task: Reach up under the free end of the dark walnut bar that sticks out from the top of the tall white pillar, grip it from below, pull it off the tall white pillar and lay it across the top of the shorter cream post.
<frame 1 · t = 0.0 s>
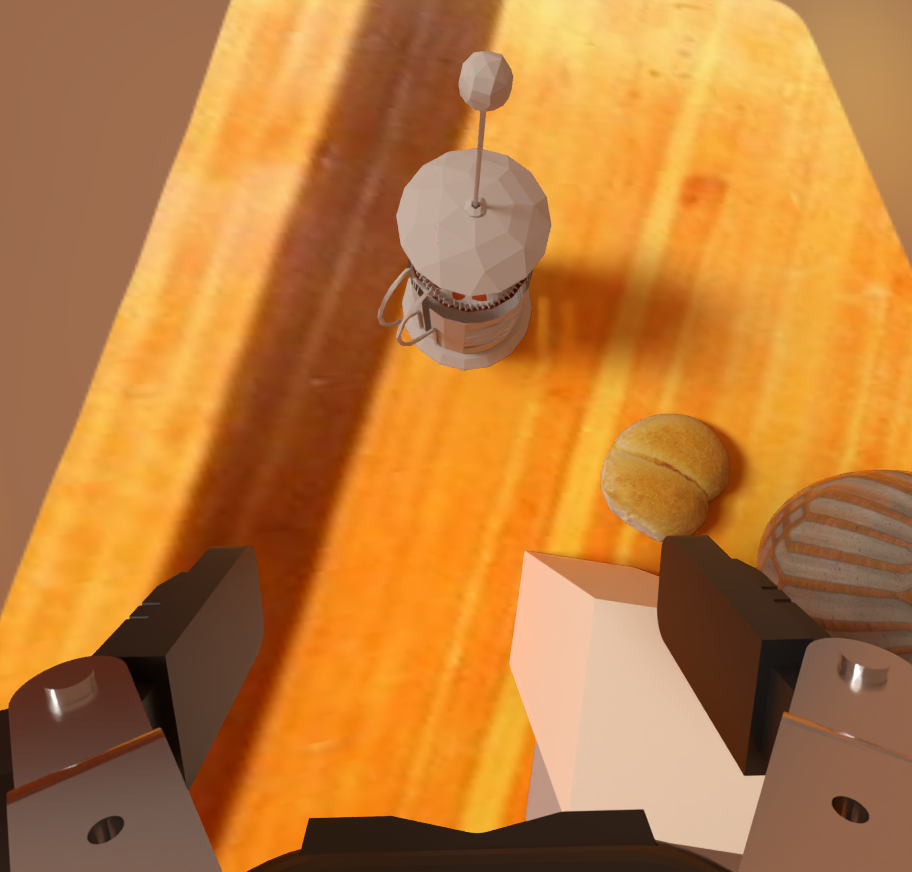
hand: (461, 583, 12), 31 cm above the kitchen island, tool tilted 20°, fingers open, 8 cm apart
bread roll: (658, 477, 44), on the kitchen island
tall white pillar: (640, 836, 41), on the kitchen island
vase: (812, 565, 43), on the kitchen island
post: (572, 615, 42), on the kitchen island
french press: (458, 314, 45), on the kitchen island
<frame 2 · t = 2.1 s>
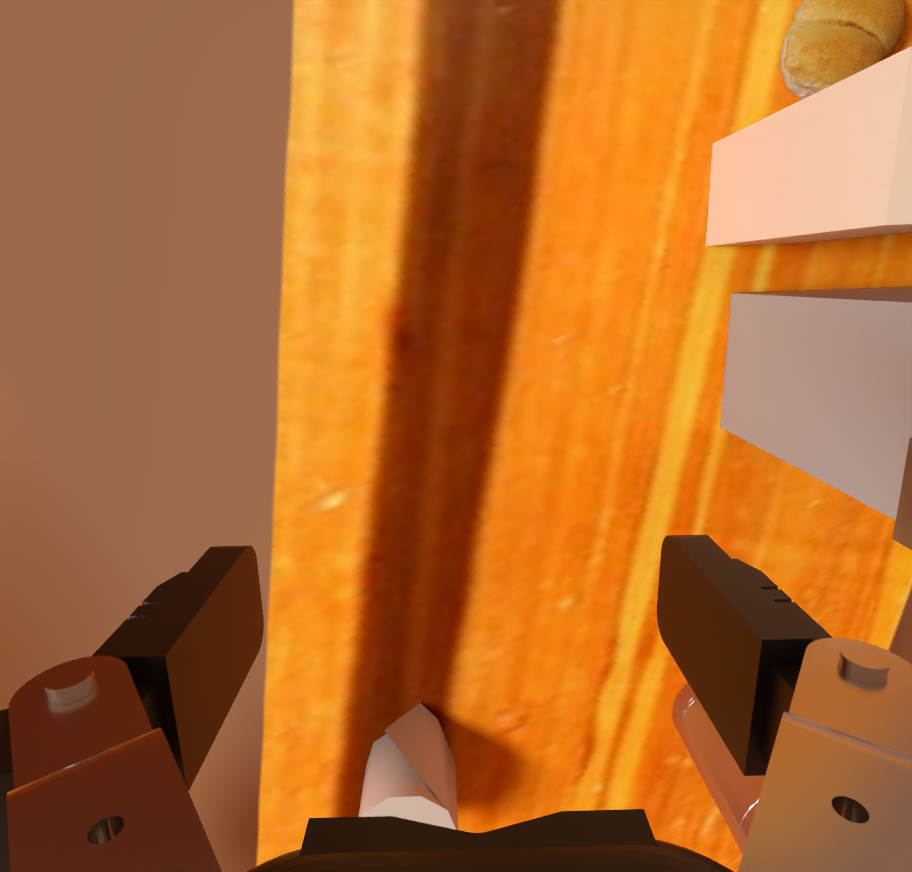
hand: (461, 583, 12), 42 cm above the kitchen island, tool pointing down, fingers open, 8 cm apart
bread roll: (829, 50, 47), on the kitchen island
tall white pillar: (813, 358, 53), on the kitchen island
toilet tissue: (412, 750, 63), on the kitchen island
post: (756, 194, 49), on the kitchen island
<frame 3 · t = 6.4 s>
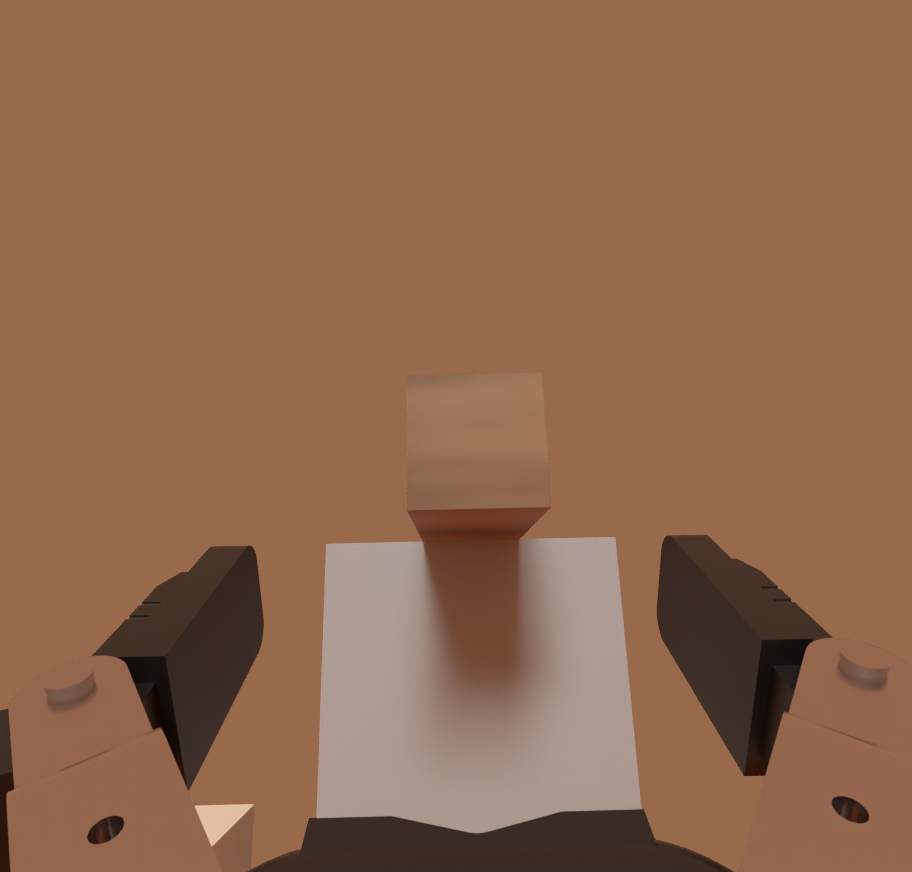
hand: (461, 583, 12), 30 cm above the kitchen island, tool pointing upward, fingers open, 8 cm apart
walnut bar: (469, 548, 28), point 32 cm above the kitchen island, touching tall white pillar
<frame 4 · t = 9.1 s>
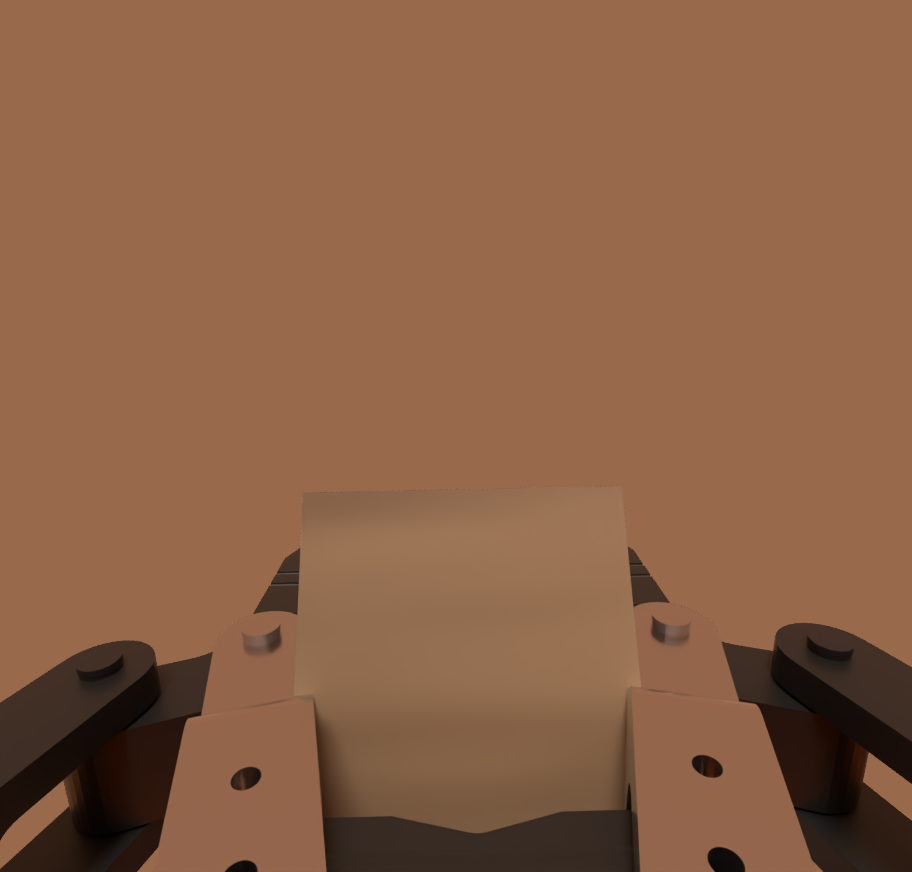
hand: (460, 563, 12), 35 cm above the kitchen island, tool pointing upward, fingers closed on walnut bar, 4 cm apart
walnut bar: (459, 688, 18), point 32 cm above the kitchen island, touching gripper, tall white pillar
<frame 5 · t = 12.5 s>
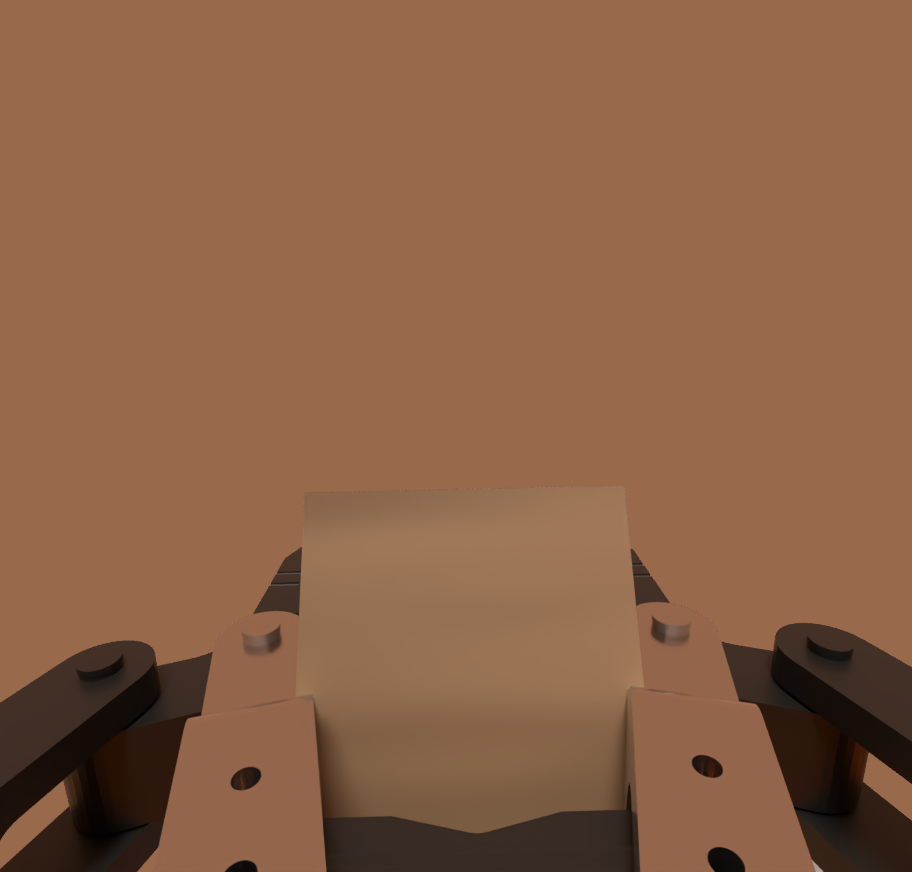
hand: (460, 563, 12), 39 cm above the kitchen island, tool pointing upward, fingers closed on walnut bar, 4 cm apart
walnut bar: (460, 689, 18), point 36 cm above the kitchen island, touching gripper
when the fingers open (26 cm above the kitchen island, at t = 16.2 s): walnut bar drops 2 cm, resting on post.
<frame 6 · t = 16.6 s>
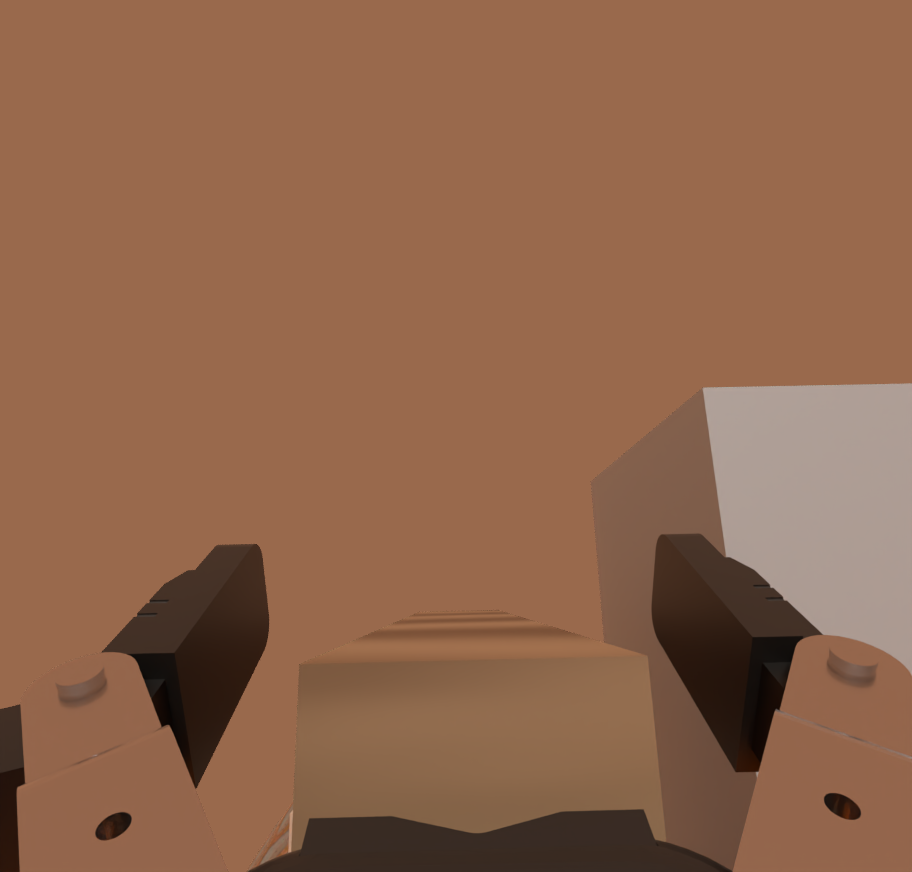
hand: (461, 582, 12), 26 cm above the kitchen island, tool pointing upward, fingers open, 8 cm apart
walnut bar: (464, 763, 17), point 21 cm above the kitchen island, touching post
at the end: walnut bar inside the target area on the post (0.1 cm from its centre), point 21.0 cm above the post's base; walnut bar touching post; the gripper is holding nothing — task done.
